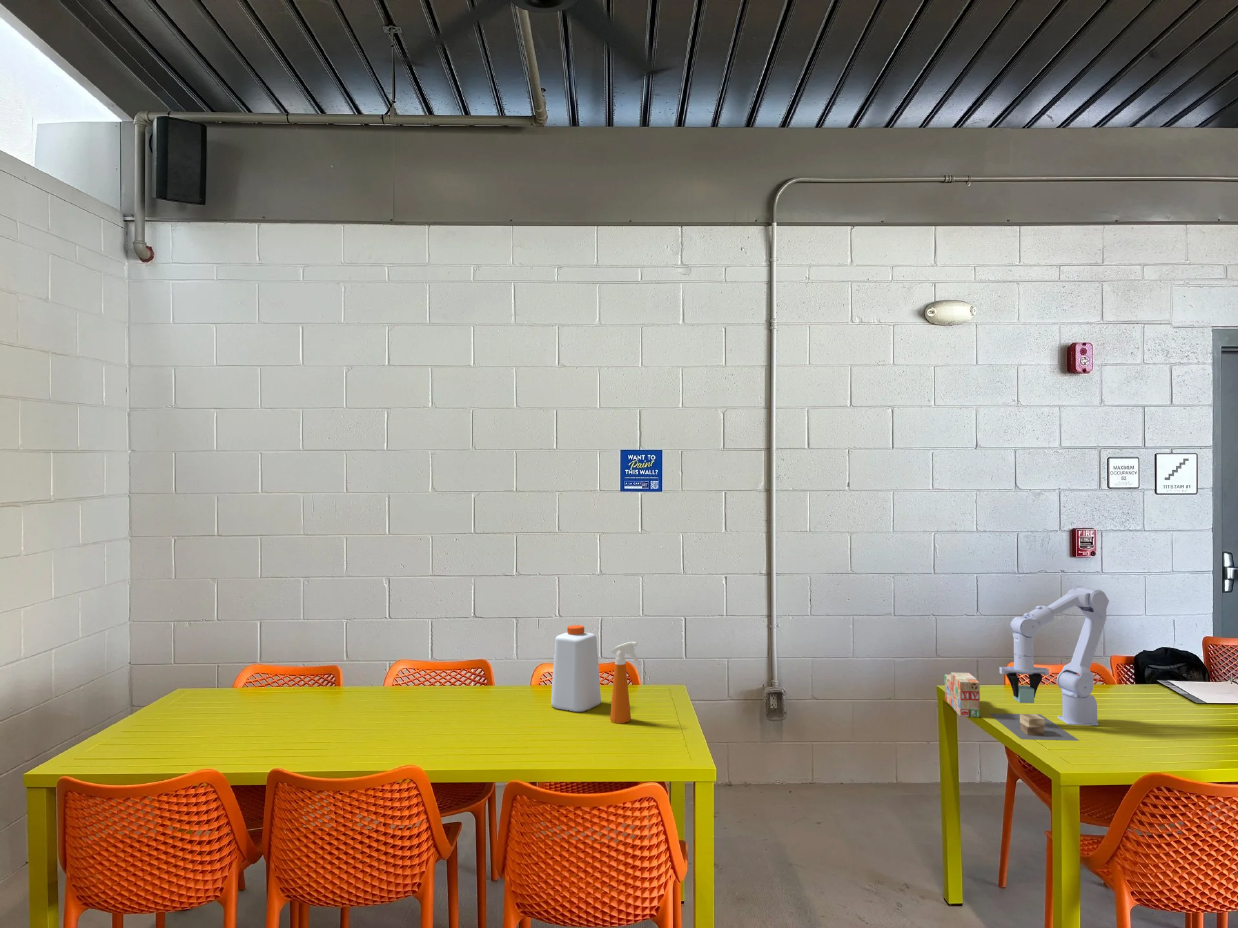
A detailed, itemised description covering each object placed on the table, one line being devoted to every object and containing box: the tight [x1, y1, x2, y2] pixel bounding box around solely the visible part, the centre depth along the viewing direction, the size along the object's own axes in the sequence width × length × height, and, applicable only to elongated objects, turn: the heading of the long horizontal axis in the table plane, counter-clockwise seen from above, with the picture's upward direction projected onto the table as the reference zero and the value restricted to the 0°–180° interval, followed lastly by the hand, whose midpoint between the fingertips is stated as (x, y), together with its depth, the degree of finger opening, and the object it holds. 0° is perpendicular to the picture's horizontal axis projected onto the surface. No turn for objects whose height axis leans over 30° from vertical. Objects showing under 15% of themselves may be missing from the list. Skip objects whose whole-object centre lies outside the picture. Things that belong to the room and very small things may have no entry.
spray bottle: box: [609, 641, 642, 724], centre depth 260 cm, size 7×11×26 cm, turn 78°
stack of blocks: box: [943, 671, 981, 718], centre depth 272 cm, size 21×6×12 cm, turn 171°
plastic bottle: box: [550, 624, 602, 713], centre depth 278 cm, size 15×15×28 cm
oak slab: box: [1019, 713, 1045, 727], centre depth 245 cm, size 5×5×2 cm
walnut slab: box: [1021, 723, 1044, 735], centre depth 245 cm, size 5×5×2 cm
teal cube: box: [1013, 684, 1035, 704], centre depth 254 cm, size 4×4×4 cm
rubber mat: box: [988, 712, 1080, 742], centre depth 251 cm, size 17×26×1 cm, turn 175°
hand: (1024, 696), depth 254 cm, fingers closed on teal cube, 4 cm apart
